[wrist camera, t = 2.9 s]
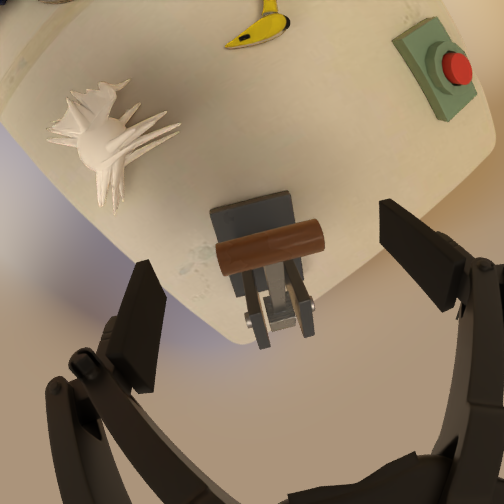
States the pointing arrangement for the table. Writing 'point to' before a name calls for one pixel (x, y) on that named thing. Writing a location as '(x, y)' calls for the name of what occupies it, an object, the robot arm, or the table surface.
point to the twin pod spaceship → (262, 27)
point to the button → (457, 68)
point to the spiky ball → (106, 137)
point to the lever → (272, 262)
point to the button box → (434, 67)
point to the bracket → (253, 281)
